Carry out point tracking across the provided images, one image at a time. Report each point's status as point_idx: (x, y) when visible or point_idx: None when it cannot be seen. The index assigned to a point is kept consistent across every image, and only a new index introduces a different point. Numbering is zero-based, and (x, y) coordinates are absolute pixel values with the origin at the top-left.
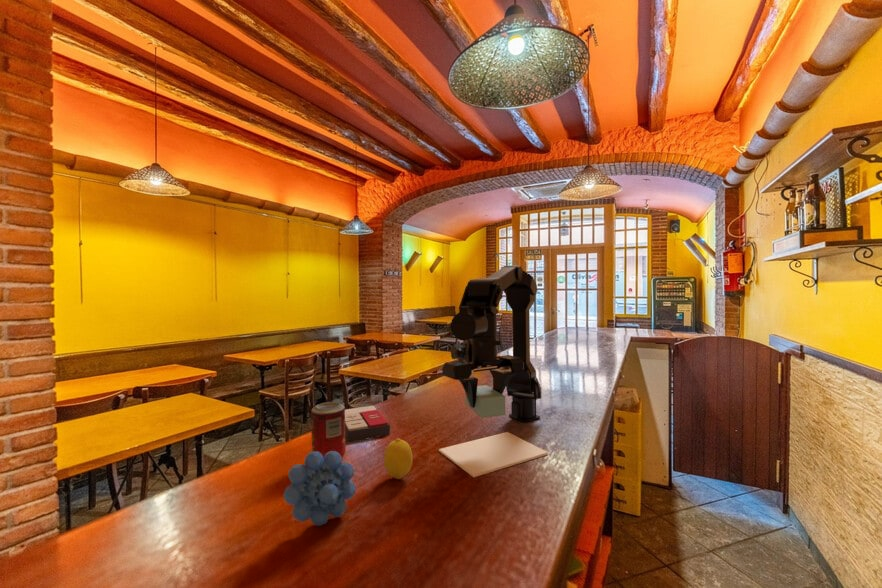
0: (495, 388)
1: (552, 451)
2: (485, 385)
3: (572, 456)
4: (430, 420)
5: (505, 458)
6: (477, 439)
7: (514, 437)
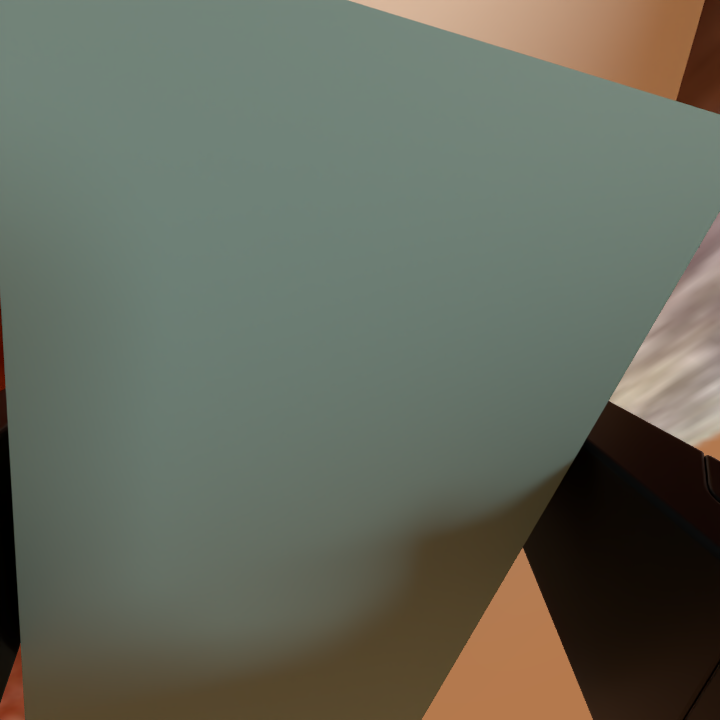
0: (583, 523)
1: (649, 337)
2: (717, 124)
3: (662, 416)
4: None
5: None
6: None
7: (659, 70)
